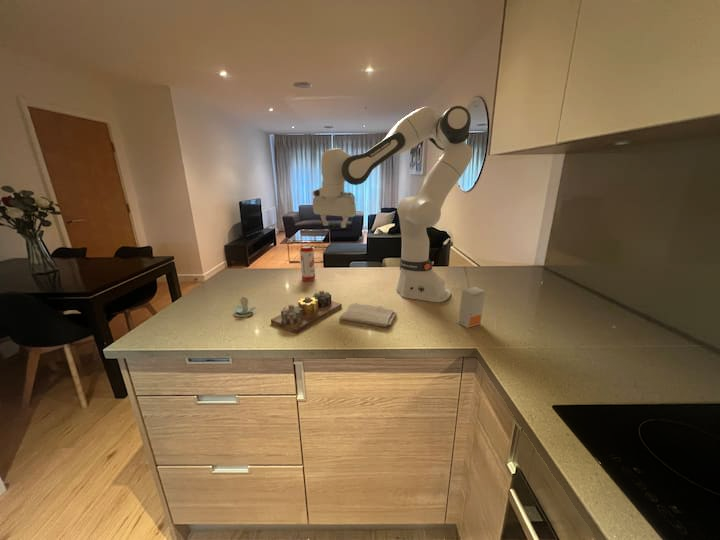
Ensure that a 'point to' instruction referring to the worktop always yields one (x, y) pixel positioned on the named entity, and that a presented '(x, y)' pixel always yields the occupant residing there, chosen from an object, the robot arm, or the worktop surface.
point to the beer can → (307, 263)
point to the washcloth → (368, 316)
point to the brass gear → (308, 306)
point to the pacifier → (243, 308)
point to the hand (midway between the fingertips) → (334, 226)
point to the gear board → (298, 322)
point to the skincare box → (471, 307)
